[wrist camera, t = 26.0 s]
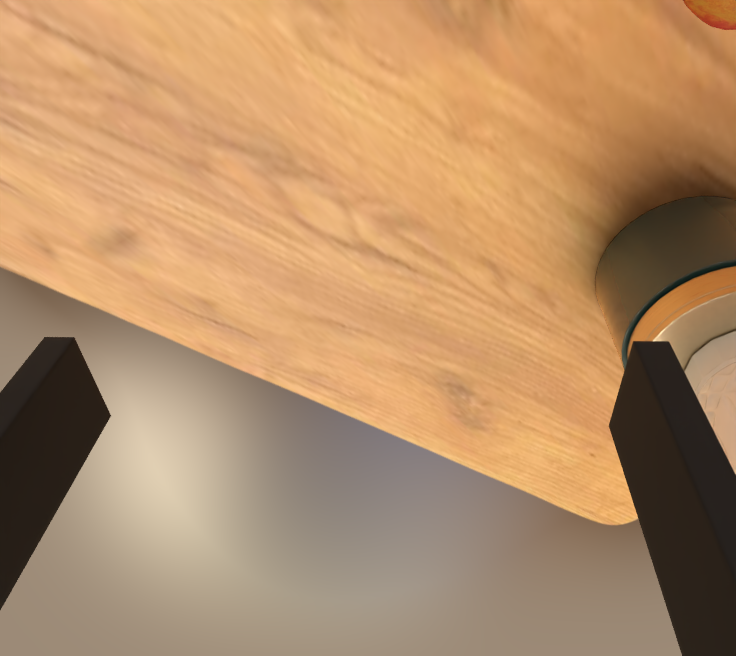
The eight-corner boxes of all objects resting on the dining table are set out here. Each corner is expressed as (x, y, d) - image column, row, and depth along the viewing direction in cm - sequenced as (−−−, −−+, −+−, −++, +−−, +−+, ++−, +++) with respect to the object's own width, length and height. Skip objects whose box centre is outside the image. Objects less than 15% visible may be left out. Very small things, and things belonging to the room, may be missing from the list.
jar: (729, 159, 41) (804, 235, 33) (801, 279, 46) (881, 370, 38) (563, 263, 47) (592, 349, 39) (643, 358, 52) (683, 451, 44)
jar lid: (785, 226, 34) (807, 248, 32) (859, 351, 39) (881, 377, 37) (592, 332, 40) (600, 356, 38) (677, 430, 45) (688, 455, 43)
